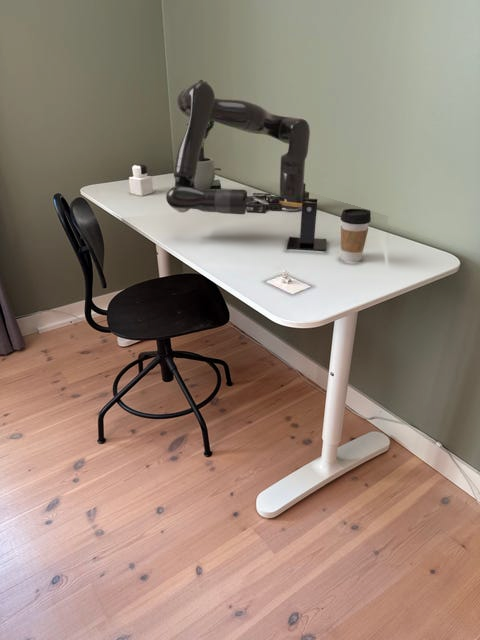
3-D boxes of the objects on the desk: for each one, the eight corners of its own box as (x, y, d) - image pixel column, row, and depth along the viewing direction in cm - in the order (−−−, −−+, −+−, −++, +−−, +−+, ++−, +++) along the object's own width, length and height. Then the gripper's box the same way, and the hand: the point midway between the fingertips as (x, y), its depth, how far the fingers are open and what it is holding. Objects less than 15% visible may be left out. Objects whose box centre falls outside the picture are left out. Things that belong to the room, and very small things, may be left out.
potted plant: (178, 190, 214) (171, 78, 192) (220, 188, 217) (217, 78, 194) (180, 203, 195) (172, 81, 173) (225, 201, 198) (223, 80, 176)
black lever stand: (286, 251, 148) (288, 204, 141) (289, 240, 157) (291, 195, 149) (325, 253, 146) (329, 206, 139) (326, 242, 155) (330, 197, 148)
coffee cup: (359, 267, 136) (366, 216, 129) (331, 262, 140) (336, 212, 133) (369, 258, 143) (376, 209, 135) (342, 253, 147) (347, 204, 139)
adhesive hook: (286, 279, 130) (286, 268, 128) (293, 282, 128) (293, 271, 126) (278, 282, 128) (278, 271, 126) (285, 285, 126) (285, 274, 125)
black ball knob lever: (266, 208, 146) (268, 197, 144) (268, 205, 149) (269, 194, 147) (313, 214, 144) (314, 202, 142) (313, 211, 147) (315, 199, 146)
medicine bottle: (142, 190, 214) (139, 162, 208) (153, 192, 211) (151, 164, 205) (130, 193, 209) (127, 165, 203) (141, 196, 206) (138, 167, 200)
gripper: (226, 195, 140) (281, 197, 138) (234, 183, 153) (285, 185, 150) (226, 220, 144) (280, 222, 142) (235, 207, 156) (284, 209, 154)
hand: (283, 203), depth 146 cm, fingers open, 7 cm apart
